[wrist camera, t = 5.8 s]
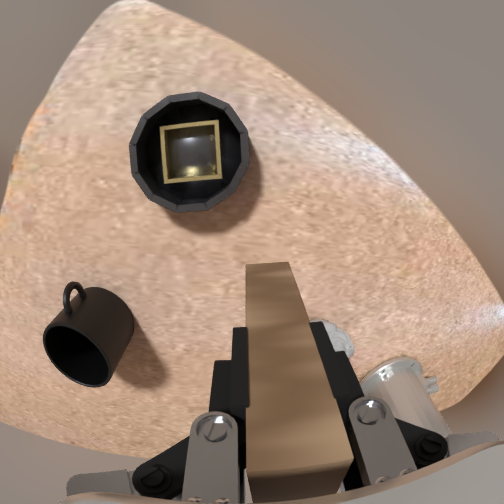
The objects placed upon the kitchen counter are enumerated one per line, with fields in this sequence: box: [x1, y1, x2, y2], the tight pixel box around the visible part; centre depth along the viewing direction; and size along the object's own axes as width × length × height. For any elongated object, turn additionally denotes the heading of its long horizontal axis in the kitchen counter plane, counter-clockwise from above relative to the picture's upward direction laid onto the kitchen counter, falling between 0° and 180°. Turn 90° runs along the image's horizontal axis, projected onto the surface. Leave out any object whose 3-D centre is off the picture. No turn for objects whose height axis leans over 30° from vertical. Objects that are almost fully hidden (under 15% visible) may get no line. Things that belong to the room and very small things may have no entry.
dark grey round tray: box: [129, 92, 250, 213], centre depth 26 cm, size 11×11×4 cm
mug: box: [43, 282, 134, 387], centre depth 29 cm, size 9×12×9 cm
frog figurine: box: [310, 319, 354, 359], centre depth 32 cm, size 6×7×7 cm
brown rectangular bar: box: [246, 262, 354, 503], centre depth 11 cm, size 2×3×12 cm
